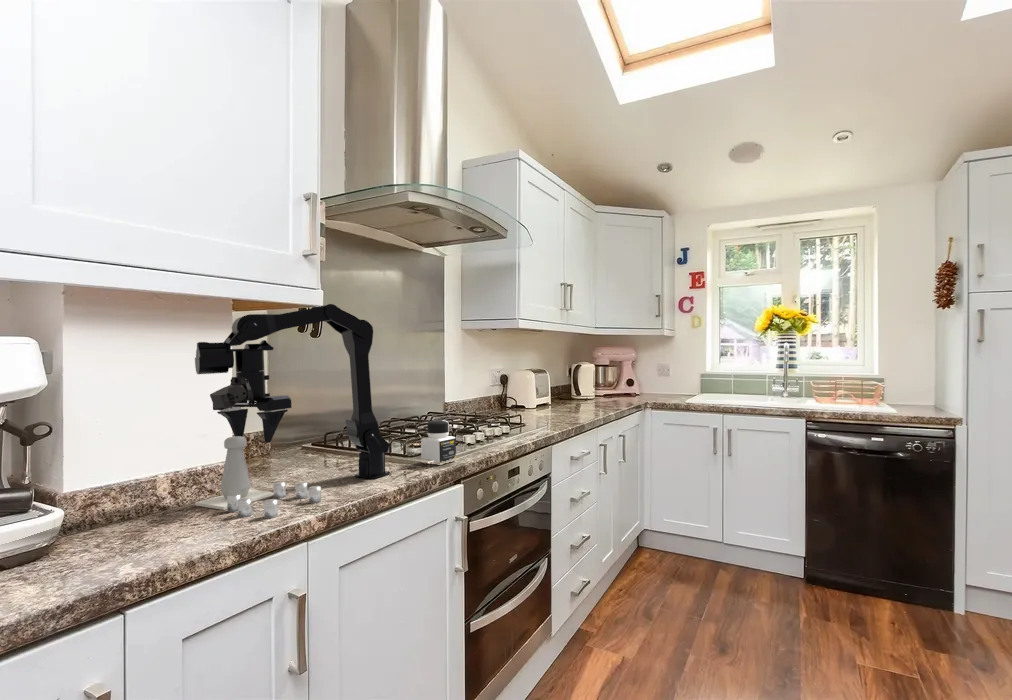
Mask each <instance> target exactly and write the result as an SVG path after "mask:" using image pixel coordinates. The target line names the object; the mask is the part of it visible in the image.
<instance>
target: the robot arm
mask: <svg viewBox="0 0 1012 700" xmlns="http://www.w3.org/2000/svg"><path fill="white" fill-rule="evenodd" d="M322 322H325V323H326V324H327V325H329V326H330V327H331V328H332V329H333V330H334V331H335V332H337V333H339V334H340V335H341V336H342V341H343V345H344V348H345V350H346V352H347V354H348V356H349V367H350V379H351V380H350V381H351V382H350V384H351V394H352V395H351V396H352V397H351V398H352V408H353V409H352V415H351V418H350V419H345V425H346V433H345V435H346V436H347V437H348V438H349V439H348V440H349V441H350V442H351V443H352V444H353V445H354V446H355V448H356V451H358V452H359V455H358V473H356V474H354V477H355V478H361V479H371V480H372V479H374V480H375V479H378V478H381V477H383V476H384V477H385V476H387V475H390V474H391V472H390V471H387V470H386V453H388V452H389V449H390V445H391V444H390V442H388V441H387V440H386V439H385V438H384V437H382V435H381V430H380V427H379V422H378V420H377V418H376V415H375V413H374V411H373V403H372V401H373V400H372V389H371V388H372V387H371V375H370V374H371V373H370V360H369V359H370V358H369V354H370V352H371V348H372V345H373V340H374V339H373V338H374V329H373V325H372V324H371V323H370V322H369V321H368V320H366V319H359V318H358V317H357V316H355V315H353V314H351V313H350V312H347V311H345V310H343V309H341V308H340V307H338V306H337V305H335V304H333V303H327V304H325V305H321V306H318V307H312V308H306V309H301V310H295V311H290V312H284V313H280V314H278V313H277V314H273V313H272V314H269V313H268V314H266V313H262V314H259V313H258V314H255V313H254V314H251V313H250V314H246V315H243V316H240V317H237V318H236V319H235V320H234V321H233V323H232V325H231V332H230V334H228V335H227V336H226V338H225V340H224V341H223V342H208V341H198V342H196V350H195V357H194V365H195V367H194V368H195V372H196V374H197V375H209V374H210V375H211V374H213V375H214V374H227V373H229V370H230V369H232V368H234V366H235V376H232V377H231V378H230V385H226V386H224V387H222V388H220V389H218V390H216V391H214V392H211V393H210V394H209V397H210V399H211V402H212V411H216V413H217V414H218V415H221V416H222V417H224V418H226V420H227V422H228V424H229V426H230V428H231V431H232V433H233V437H235V436H242V437H244V434H245V429H246V424H247V423H246V422H247V418H248V412H249V408H257V409H258V412H256V415H257V416H258V417H260V419H261V421H262V431H263V438H264V443H266V444H269V443H271V442H272V440H273V437H274V435H275V433H276V431H277V429H278V426H279V424H280V422H281V421H282V419H283V417H284V415H285V413H288V411H289V410H288V409H291V408H292V404H293V403H292V398H291V397H290V395H271V394H270V392H269V393H266V381H267V380H268V381H269V380H270V375H269V374H268V375H266V373H265V370H266V369H265V354H264V352H266V351H274V347H273V346H272V345H270V343H268V342H267V340H266V339H263V340H261V341H260V342H259V343H246V342H251V341H257V340H259V339H262V338H265V337H267V336H269V335H273V334H274V333H277V332H280V331H283V330H285V329H286V330H287V329H291V328H296V327H301V326H307V325H311V324H317V323H322ZM244 343H246V344H245V345H244V346H243V348H231V347H236V346H241V345H243V344H244Z"/></svg>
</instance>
